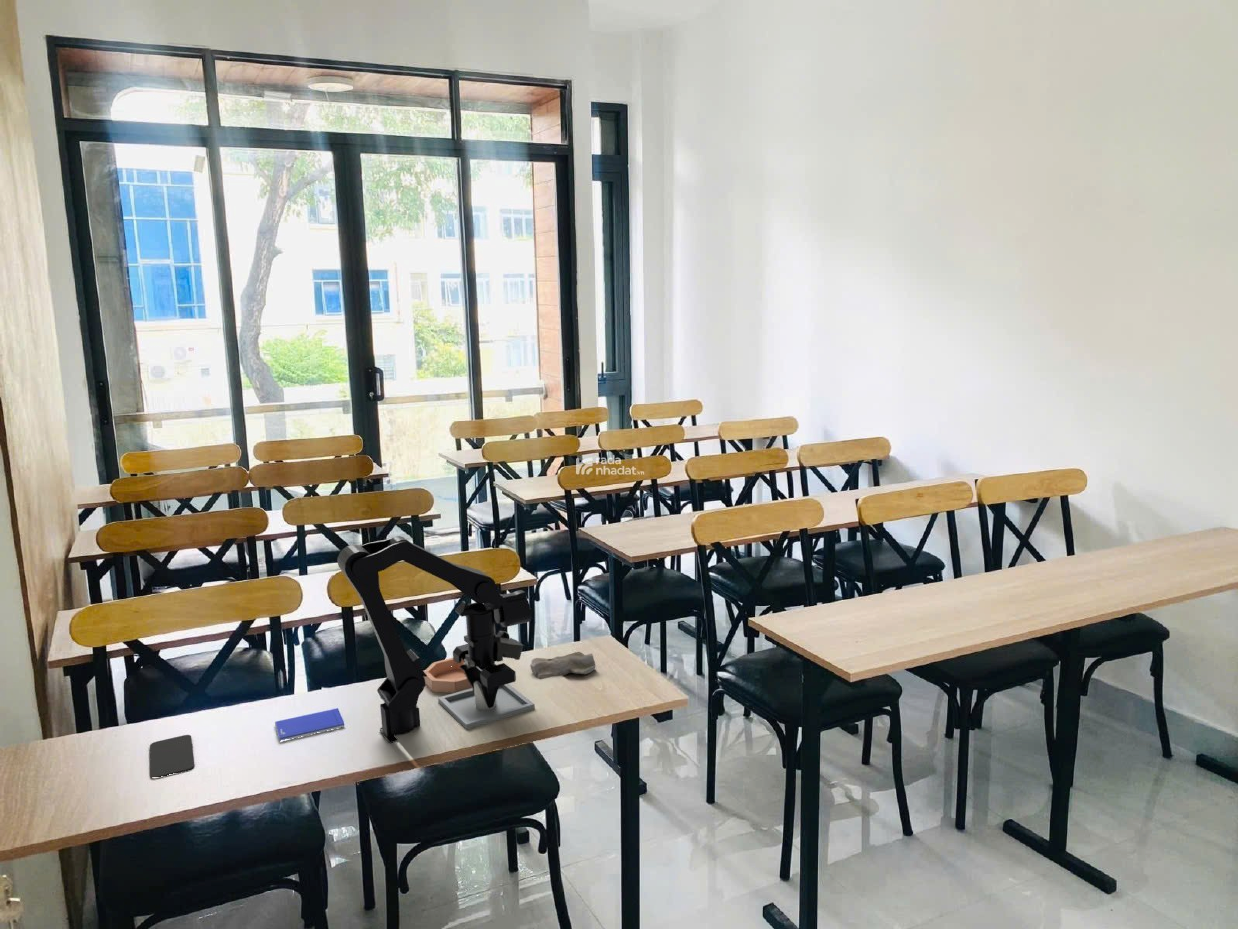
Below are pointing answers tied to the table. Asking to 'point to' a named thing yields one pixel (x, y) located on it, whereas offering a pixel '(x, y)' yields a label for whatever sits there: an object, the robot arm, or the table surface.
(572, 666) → the stone
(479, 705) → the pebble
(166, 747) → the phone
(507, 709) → the parts tray
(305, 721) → the hard drive
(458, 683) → the bowl
